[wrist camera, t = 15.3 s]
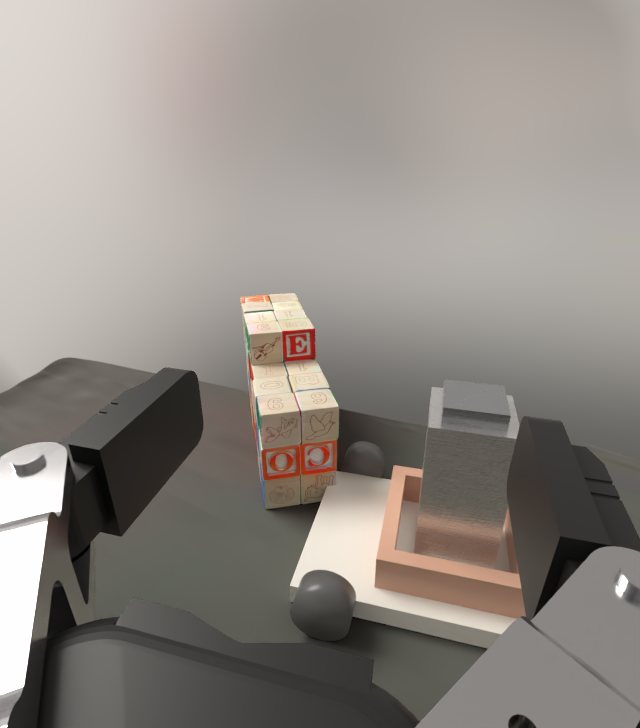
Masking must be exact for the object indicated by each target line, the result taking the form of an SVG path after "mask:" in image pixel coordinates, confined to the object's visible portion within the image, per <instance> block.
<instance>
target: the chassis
mask: <svg viewBox="0 0 640 728" xmlns="http://www.w3.org/2000/svg"><path fill="white" fill-rule="evenodd" d="M385 462H386V458H385V455H384V453H383V451H382V450H381V449H380V448H379V447H378V446H377V445H375V444H373V443H371V442H367V441H359V442H355V443H353V444H352V445H350V446H349V447H348V449H347V451H346V454H345V457H344V460H343V462H342V465H341V471H336V485H333V486H327V488H326V490H325V493H324V496H323V498H322V501H321V504H320V507H319V509H318V512H317V515H316V517H315V520H314V523H313V525H312V528H311V531H310V533H309V536H308V539H307V541H306V544H305V547H304V549H303V552H302V555H301V557H300V560H299V563H298V565H297V568H296V571H295V573H294V576H293V579H292V581H291V584H290V600H291V602H293V604H292V607H291V610H290V614H291V618H292V620H293V622H294V624H295V625H296V626H297V627H298V628H299V629H300V630H301V631H302V632H304V633H305V634H307V635H309V636H311V637H313V638H315V639H318V640H323V641H337V640H340V639H342V638H344V637H345V636H346V635H347V634H348V632H349V629H350V625H351V620H352V616H353V617H357V618H361V619H365V620H370V621H374V622H378V623H382V624H386V625H391V626H395V627H399V628H403V629H407V630H412V631H416V632H420V633H424V634H428V635H433V636H437V637H441V638H445V639H449V640H454V641H458V642H462V643H466V644H470V645H475V646H479V647H483V648H487V649H488V648H489V647H490V646H491V645H492V644H493V643H494V642H495V641H496V640H497V639H498V638H499V637H500V635H501V634H502V633H503V632H504V631H505V630H506V629H507V628H508V627H509V626H510V625H511V624H512V623H513V622H514V621H515V620H516V619H518V618H519V617H521V616H525V617H526V614H525V607H524V601H523V595H522V589H521V583H520V576H519V570H518V564H517V558H516V552H515V545H514V539H513V533H512V527H511V521H510V514H509V508H508V509H507V513H506V518H505V522H504V527H503V532H502V536H501V541H500V545H499V550H498V554H497V559H496V563H495V568H494V569H489V568H484V567H479V566H474V565H469V564H464V563H459V562H454V561H449V560H444V559H439V558H434V557H429V556H424V555H419V554H414V545H415V535H416V525H417V514H418V505H419V497H420V488H421V479H422V469H416V468H409V467H403V466H396V465H394V467H393V473H392V478H391V480H389V479H383V478H382V477H383V472H384V467H385Z"/></svg>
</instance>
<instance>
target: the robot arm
mask: <svg viewBox="0 0 640 728" xmlns="http://www.w3.org/2000/svg"><path fill="white" fill-rule="evenodd" d="M202 431H203V416H202V408H201V399H200V391H199V383H198V378H197V375H196V373H195V372H194V371H189V370H182V369H174V368H163V369H162V370H161V371H159V372H158V373H157V374H155V375H154V376H153V377H152V378H150V379H149V380H148V381H147V382H145V383H143V384H140V385H138V386H136V387H134V388H131V389H129V390H127V391H125V392H123V393H122V394H121V395H120V396H118V397H117V398H116V399H114V400H113V401H112V402H111V404H110V405H109V404H108V405H107V406H105V407H104V408H103V409H102V410H100V411H99V414H95V415H94V416H93V417H91V418H90V419H89V420H87V421H86V422H85V423H84V424H82V425H81V426H80V427H78V428H77V429H76V430H75V431H73V432H72V433H71V434H69V435H68V436H67V437H66V438H64V439H63V440H62V441H60V442H59V443H53V442H40V443H33V444H29V445H25V446H22V447H19V448H17V449H14V450H12V451H10V452H8V453H6V454H5V455H3V456H2V457H0V728H640V538H639V536H638V534H637V532H636V530H635V528H634V526H633V524H632V522H631V520H630V517H629V515H628V513H627V511H626V509H625V507H624V505H623V503H622V501H620V500H619V498H620V497H619V494H618V492H617V490H616V488H615V486H614V485H612V480H611V478H610V476H609V474H608V471H607V469H606V467H605V465H604V464H603V463H602V462H601V461H600V460H599V459H598V458H597V457H596V456H595V455H594V454H593V453H592V452H591V451H589V450H588V449H587V448H586V447H581V446H574V445H571V443H570V441H569V438H568V436H567V433H566V431H565V428H564V426H563V423H562V422H561V421H558V420H551V419H543V418H535V417H528V416H524V417H523V418H522V420H521V423H520V427H519V431H518V435H517V439H516V443H515V447H514V451H513V455H512V459H511V463H510V467H509V472H508V478H507V502H508V508H509V514H510V521H511V527H512V533H513V539H514V545H515V552H516V558H517V564H518V570H519V576H520V583H521V589H522V595H523V601H524V607H525V614H526V617H525V616H521V617H519V618H518V619H516V620H515V621H514V622H513V623H512V624H511V625H510V626H509V627H508V628H507V629H506V630H505V631H504V632H503V633H502V634H501V635H500V637H499V638H498V639H497V640H496V641H495V642H494V643H493V644H492V645H491V646H490V647H489V648H488V649H487V651H486V652H485V653H484V654H483V655H482V656H481V657H480V658H479V659H478V660H477V661H476V662H475V663H474V665H473V666H472V667H471V668H470V669H469V670H468V671H467V672H466V673H465V674H464V675H463V676H462V677H461V679H460V680H459V681H458V682H457V683H456V684H455V685H454V686H453V687H452V688H451V689H450V690H449V691H448V693H447V694H446V695H445V696H444V697H443V698H442V699H441V700H440V701H439V702H438V703H437V704H436V705H435V707H434V708H433V709H432V710H431V711H430V712H429V713H428V714H427V715H426V716H425V717H424V718H423V719H422V721H421V722H419V720H418V719H417V718H416V717H415V716H414V715H413V714H412V713H411V712H410V711H409V710H408V709H407V708H406V707H405V706H404V705H403V704H402V703H401V702H400V701H399V700H397V699H396V698H395V697H393V696H392V695H391V694H389V693H388V692H387V691H385V690H384V689H382V688H380V687H379V686H377V685H375V684H374V683H372V674H373V664H374V660H373V659H369V658H366V657H362V656H358V655H354V654H350V653H346V652H342V651H339V650H335V649H331V648H327V647H323V646H319V645H315V644H312V643H240V642H237V641H235V640H233V639H231V638H230V637H228V636H227V635H225V634H223V633H222V632H220V631H219V630H217V629H215V628H214V627H212V626H210V625H209V624H207V623H206V622H204V621H202V620H201V619H199V618H197V617H196V616H194V615H193V614H191V613H189V612H188V611H184V610H180V609H177V608H173V607H169V606H165V605H161V604H157V603H153V602H150V601H146V600H142V599H138V598H134V597H133V599H132V600H131V602H130V603H129V605H128V606H127V607H126V609H125V610H124V612H123V613H122V615H121V616H120V617H113V618H105V619H99V620H95V621H94V603H95V545H94V542H93V539H94V538H95V537H96V536H97V535H98V533H99V532H103V533H108V534H112V535H116V536H122V535H123V534H124V533H125V532H126V530H127V529H128V528H129V527H130V526H131V524H132V523H133V522H134V521H135V520H136V518H137V517H138V516H139V515H140V513H141V512H142V511H143V510H144V509H145V507H146V506H147V505H148V504H149V503H150V501H151V500H152V499H153V498H154V496H155V495H156V494H157V493H158V492H159V490H160V489H161V488H162V487H163V486H164V484H165V483H166V482H167V481H168V480H169V478H170V477H171V476H172V475H173V473H174V472H175V471H176V470H177V469H178V467H179V466H180V465H181V464H182V463H183V461H184V460H185V459H186V458H187V457H188V455H189V454H190V453H191V452H192V450H193V449H194V448H195V447H196V446H197V444H198V442H199V441H200V438H201V435H202Z"/></svg>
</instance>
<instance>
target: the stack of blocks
mask: <svg viewBox="0 0 640 728" xmlns="http://www.w3.org/2000/svg"><path fill="white" fill-rule="evenodd" d="M241 308H242V317H243V330H244V339H245V340H244V341H245V348H246V360H247V373H248V383H249V394H250V405H251V412H252V422H253V429H254V430H255V436H256V443H257V450H258V464H259V472H260V480H261V485H262V490H263V498H264V504H265V509H272V508H279V507H286V506H292V505H299V504H308V503H314V502H320V501H322V498H323V496H324V493H325V490H326V488H327V486H333V485H336V470H337V439H338V437H339V406H338V403H337V402H336V399H335V398H334V395H333V394H332V392H331V390H330V386H329V385H328V382H327V380H326V379H325V377H324V375H323V373H322V370H321V368H320V366H319V365H318V363H317V361H316V360H315V329H314V327H313V325H312V323H311V322H310V320H309V319H308V318H307V316H306V314H305V313H304V311H303V308H302V306H301V305H300V303H299V300H298V298H297V296H296V294H295V293H288V294H272V295H271V294H270V295H269V296H268V295H260V296H247V297H241Z"/></svg>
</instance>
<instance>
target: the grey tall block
mask: <svg viewBox="0 0 640 728" xmlns="http://www.w3.org/2000/svg"><path fill="white" fill-rule="evenodd" d="M519 427H520V426H519V422H518V418H517V414H516V409H515V405H514V401H513V397H512V396H507V395H506V392H505V387H504V386H501V385H491V384H481V383H473V382H464V381H455V380H446V379H445V380H444V387H443V388H437V387H432V392H431V400H430V409H429V417H428V426H427V435H426V444H425V452H424V461H423V470H422V479H421V488H420V497H419V505H418V514H417V525H416V535H415V545H414V554H419V555H424V556H429V557H434V558H439V559H444V560H449V561H454V562H459V563H464V564H469V565H474V566H479V567H484V568H489V569H494V568H495V563H496V559H497V554H498V550H499V545H500V541H501V536H502V532H503V527H504V522H505V518H506V513H507V509H508V502H507V478H508V472H509V467H510V463H511V459H512V455H513V451H514V447H515V443H516V439H517V435H518V431H519Z"/></svg>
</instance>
